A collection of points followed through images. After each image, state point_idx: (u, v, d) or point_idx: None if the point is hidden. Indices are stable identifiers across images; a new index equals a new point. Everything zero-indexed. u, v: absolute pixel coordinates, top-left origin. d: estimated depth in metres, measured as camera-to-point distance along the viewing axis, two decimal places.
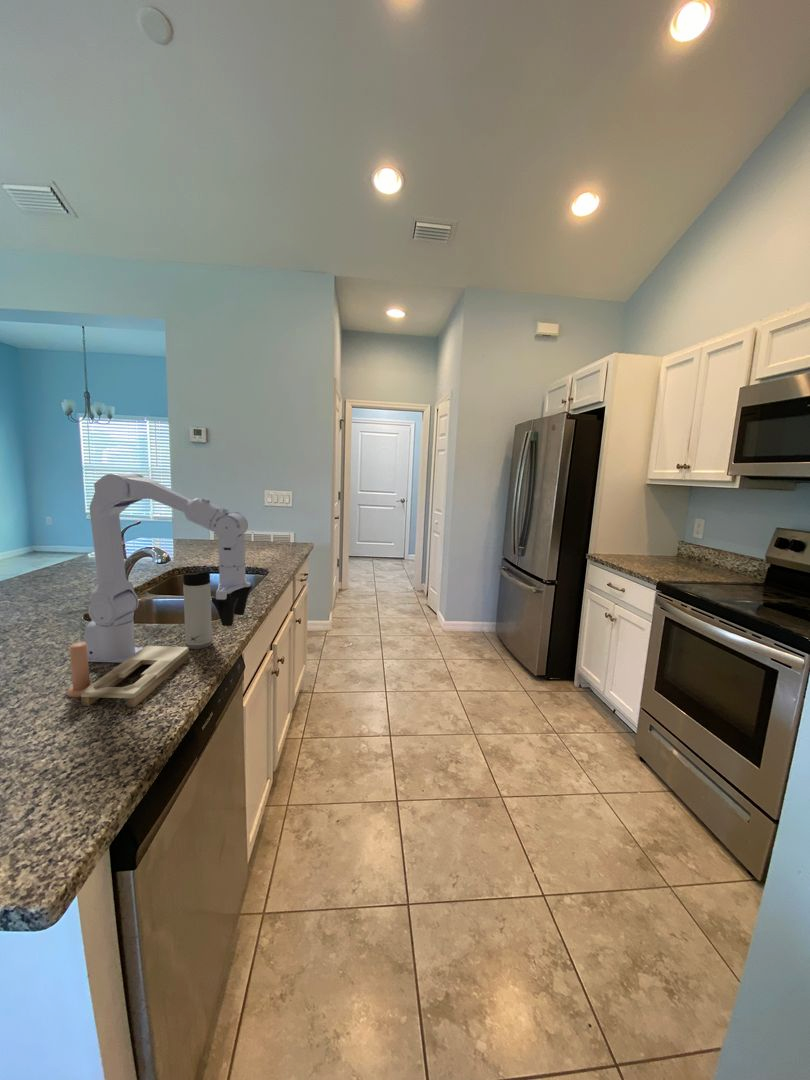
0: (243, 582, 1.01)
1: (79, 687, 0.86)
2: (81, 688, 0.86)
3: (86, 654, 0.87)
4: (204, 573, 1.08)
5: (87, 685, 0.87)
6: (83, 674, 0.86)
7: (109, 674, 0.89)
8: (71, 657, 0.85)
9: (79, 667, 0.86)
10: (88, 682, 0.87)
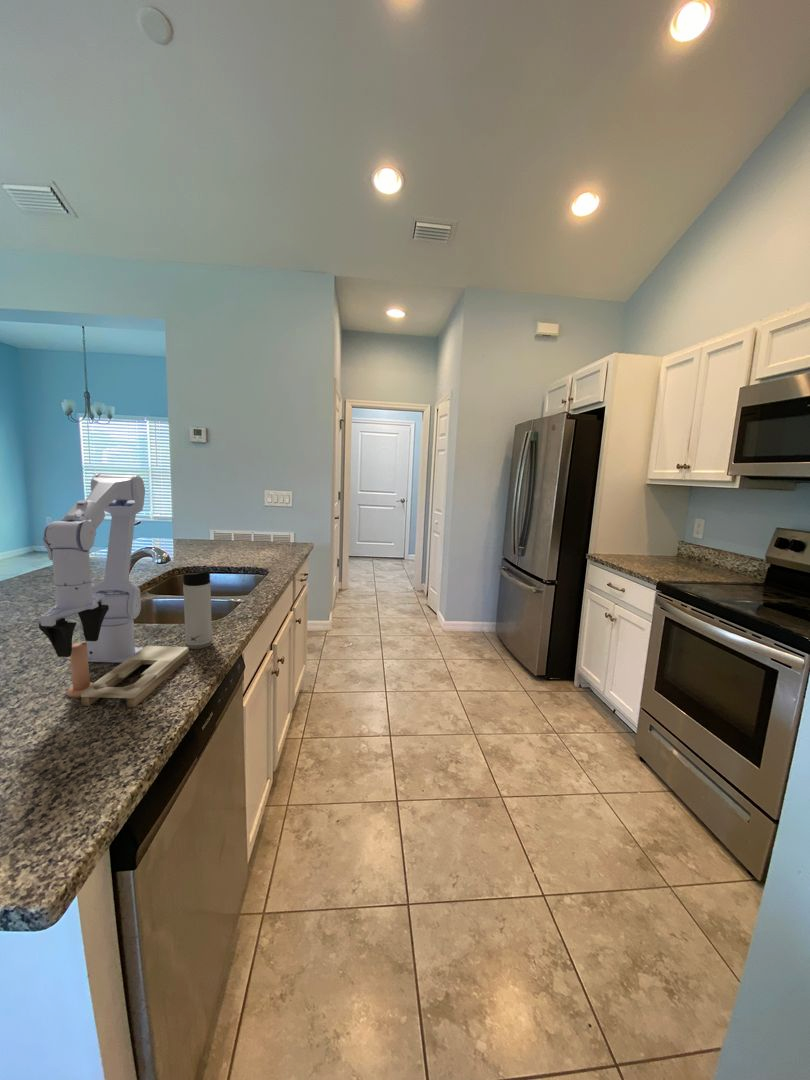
0: (87, 603, 0.84)
1: (79, 687, 0.86)
2: (81, 688, 0.86)
3: (86, 654, 0.87)
4: (204, 573, 1.08)
5: (87, 685, 0.87)
6: (83, 674, 0.86)
7: (109, 674, 0.89)
8: (71, 657, 0.85)
9: (79, 667, 0.86)
10: (88, 682, 0.87)
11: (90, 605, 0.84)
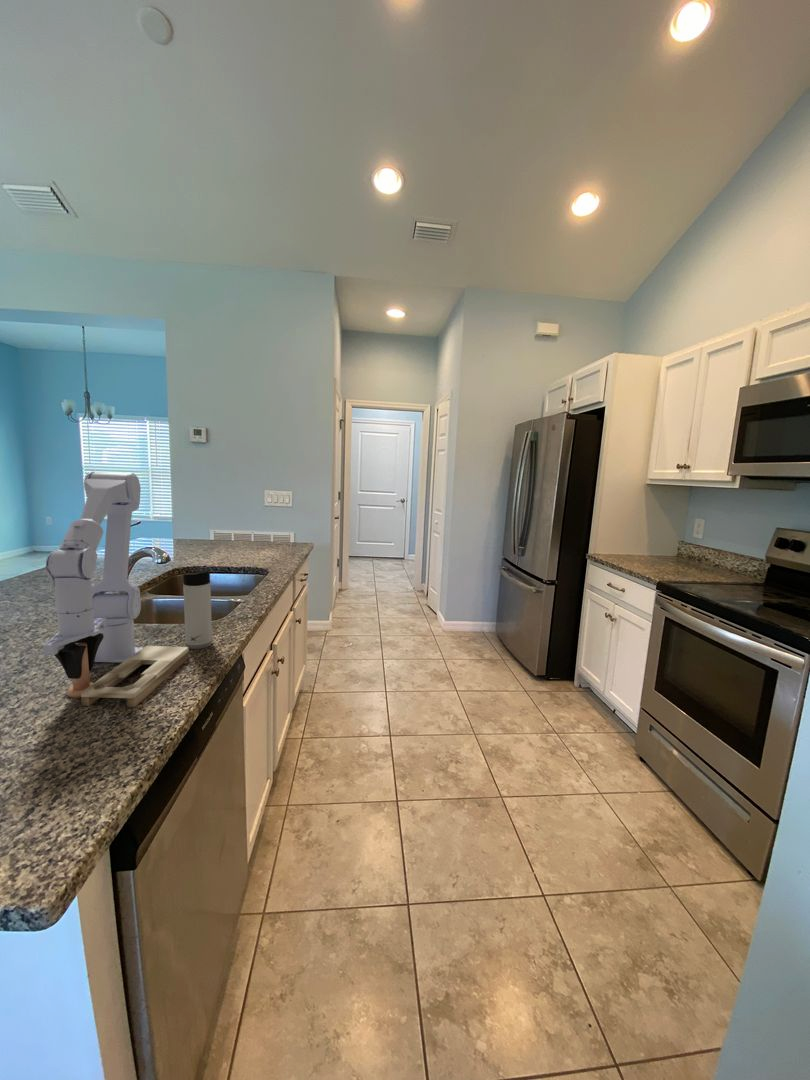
0: (88, 630, 0.85)
1: (79, 687, 0.86)
2: (81, 688, 0.86)
3: (86, 654, 0.87)
4: (204, 573, 1.08)
5: (87, 685, 0.87)
6: (83, 674, 0.86)
7: (109, 674, 0.89)
8: None
9: None
10: (88, 682, 0.87)
11: (92, 632, 0.85)
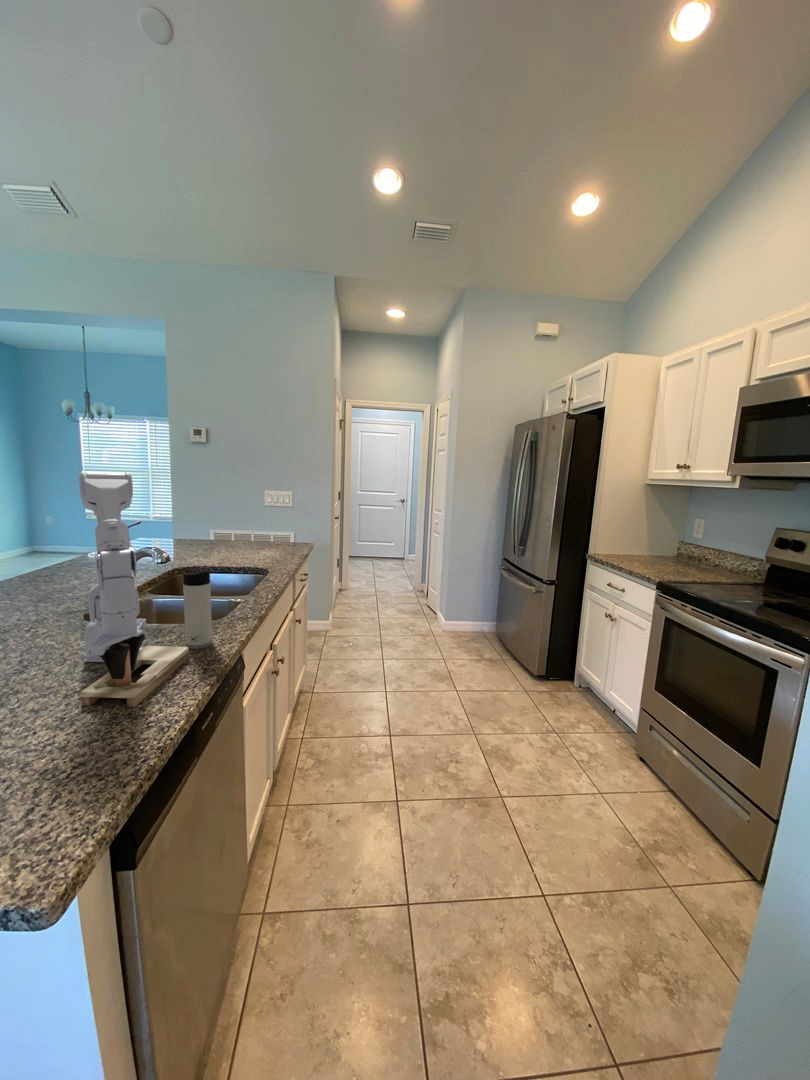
0: (132, 631, 0.85)
1: None
2: None
3: (128, 655, 0.87)
4: (204, 573, 1.08)
5: None
6: (125, 674, 0.86)
7: (109, 674, 0.89)
8: None
9: None
10: (130, 682, 0.88)
11: (135, 632, 0.85)
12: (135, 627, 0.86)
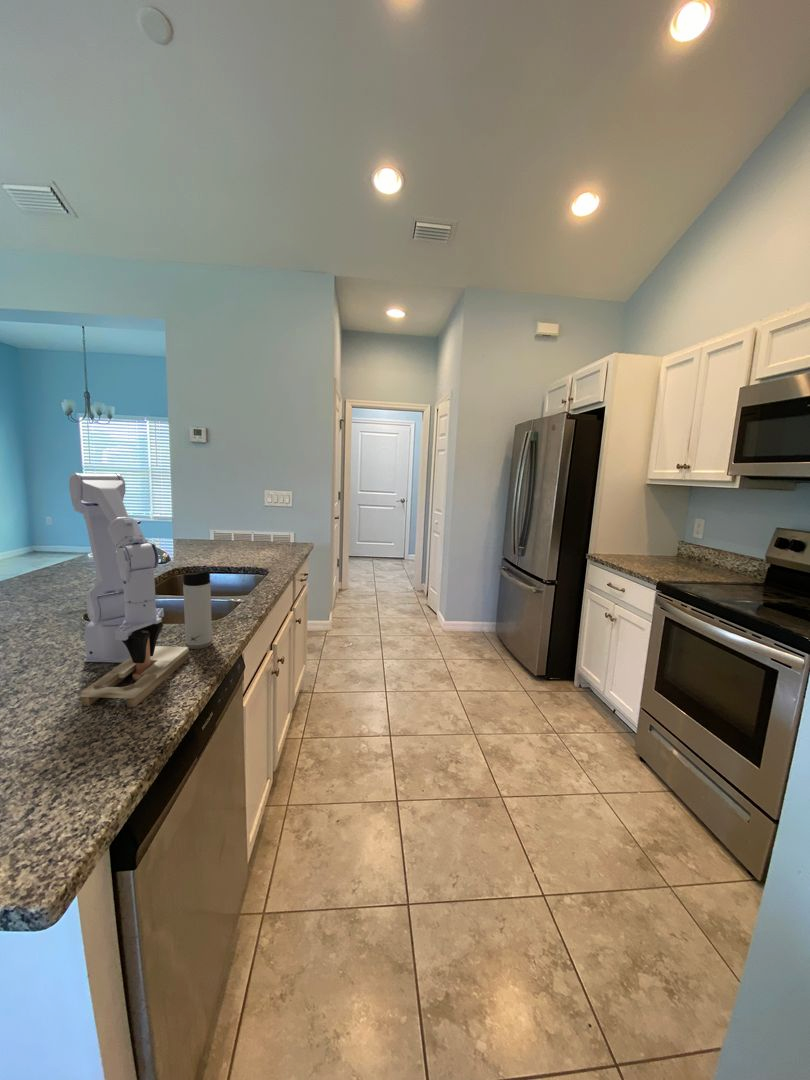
0: (152, 618, 0.92)
1: (142, 671, 0.93)
2: None
3: (148, 641, 0.94)
4: (204, 573, 1.08)
5: None
6: (146, 659, 0.93)
7: (109, 674, 0.89)
8: None
9: None
10: None
11: (155, 620, 0.92)
12: (155, 615, 0.93)
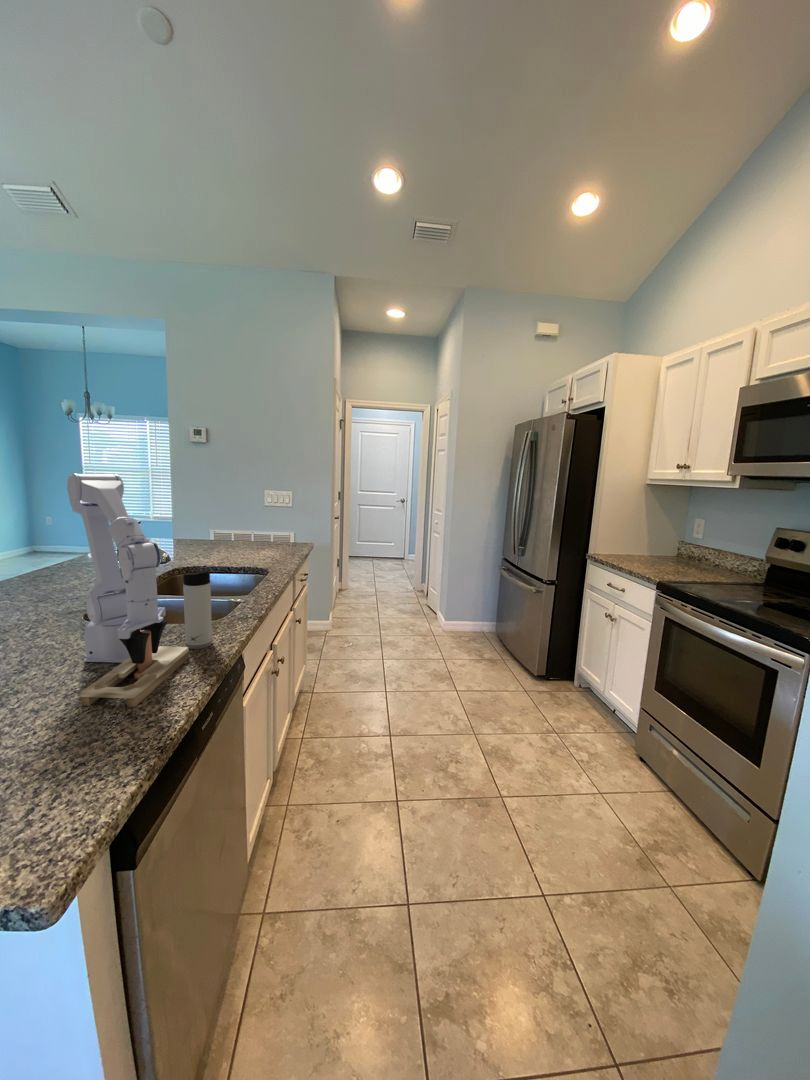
0: (154, 617, 0.93)
1: (144, 670, 0.94)
2: None
3: (150, 640, 0.94)
4: (204, 573, 1.08)
5: None
6: (148, 658, 0.94)
7: (109, 674, 0.89)
8: None
9: None
10: None
11: (157, 619, 0.93)
12: (156, 614, 0.94)
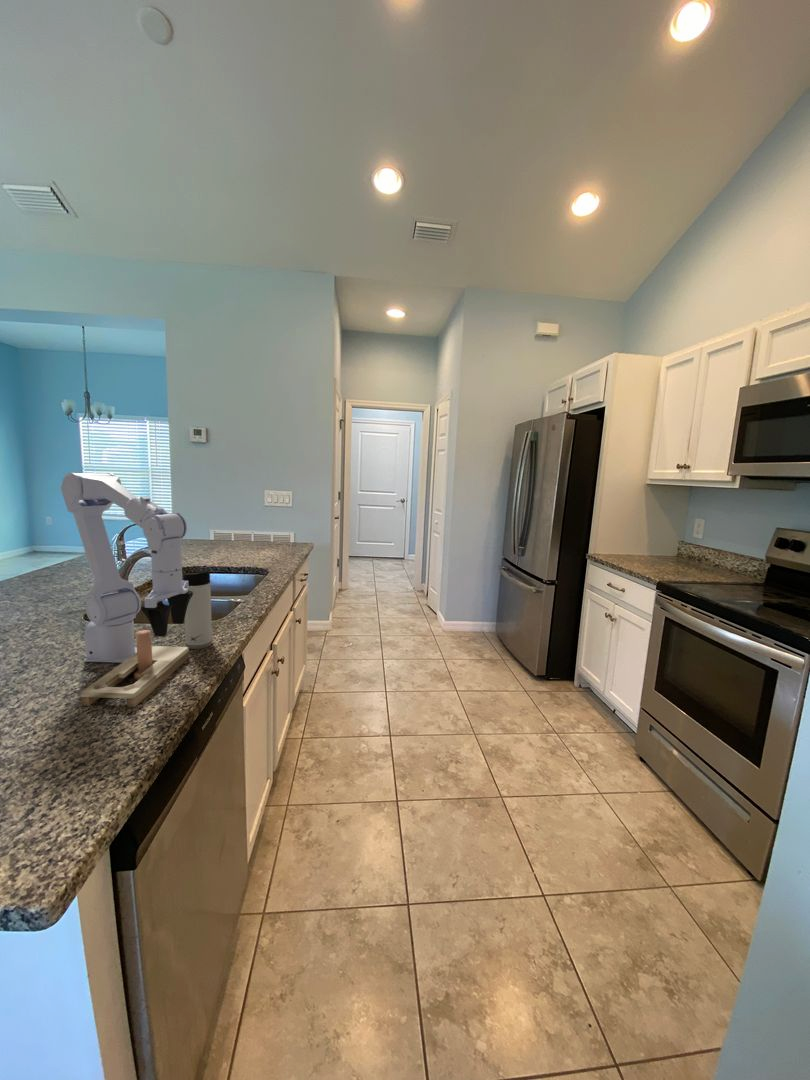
0: (179, 588, 0.93)
1: (144, 670, 0.94)
2: None
3: (150, 640, 0.94)
4: (204, 573, 1.08)
5: None
6: (148, 658, 0.94)
7: (109, 674, 0.89)
8: (137, 643, 0.93)
9: (144, 652, 0.93)
10: None
11: (182, 590, 0.93)
12: (181, 585, 0.94)
